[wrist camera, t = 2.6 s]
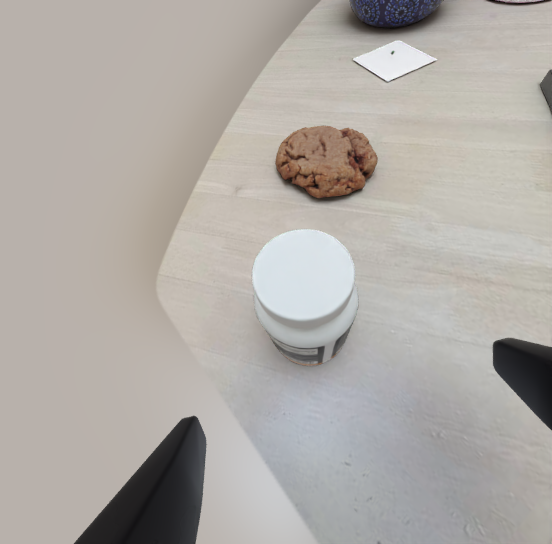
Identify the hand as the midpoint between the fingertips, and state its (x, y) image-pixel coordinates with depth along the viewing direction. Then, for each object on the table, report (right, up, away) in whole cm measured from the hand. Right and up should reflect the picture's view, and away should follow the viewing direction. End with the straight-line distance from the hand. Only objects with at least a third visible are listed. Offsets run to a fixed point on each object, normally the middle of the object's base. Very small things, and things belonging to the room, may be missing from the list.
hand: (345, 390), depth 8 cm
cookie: (+3, +15, +21) cm, 26 cm away
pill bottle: (+1, -1, +13) cm, 13 cm away
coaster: (+14, +33, +29) cm, 46 cm away
